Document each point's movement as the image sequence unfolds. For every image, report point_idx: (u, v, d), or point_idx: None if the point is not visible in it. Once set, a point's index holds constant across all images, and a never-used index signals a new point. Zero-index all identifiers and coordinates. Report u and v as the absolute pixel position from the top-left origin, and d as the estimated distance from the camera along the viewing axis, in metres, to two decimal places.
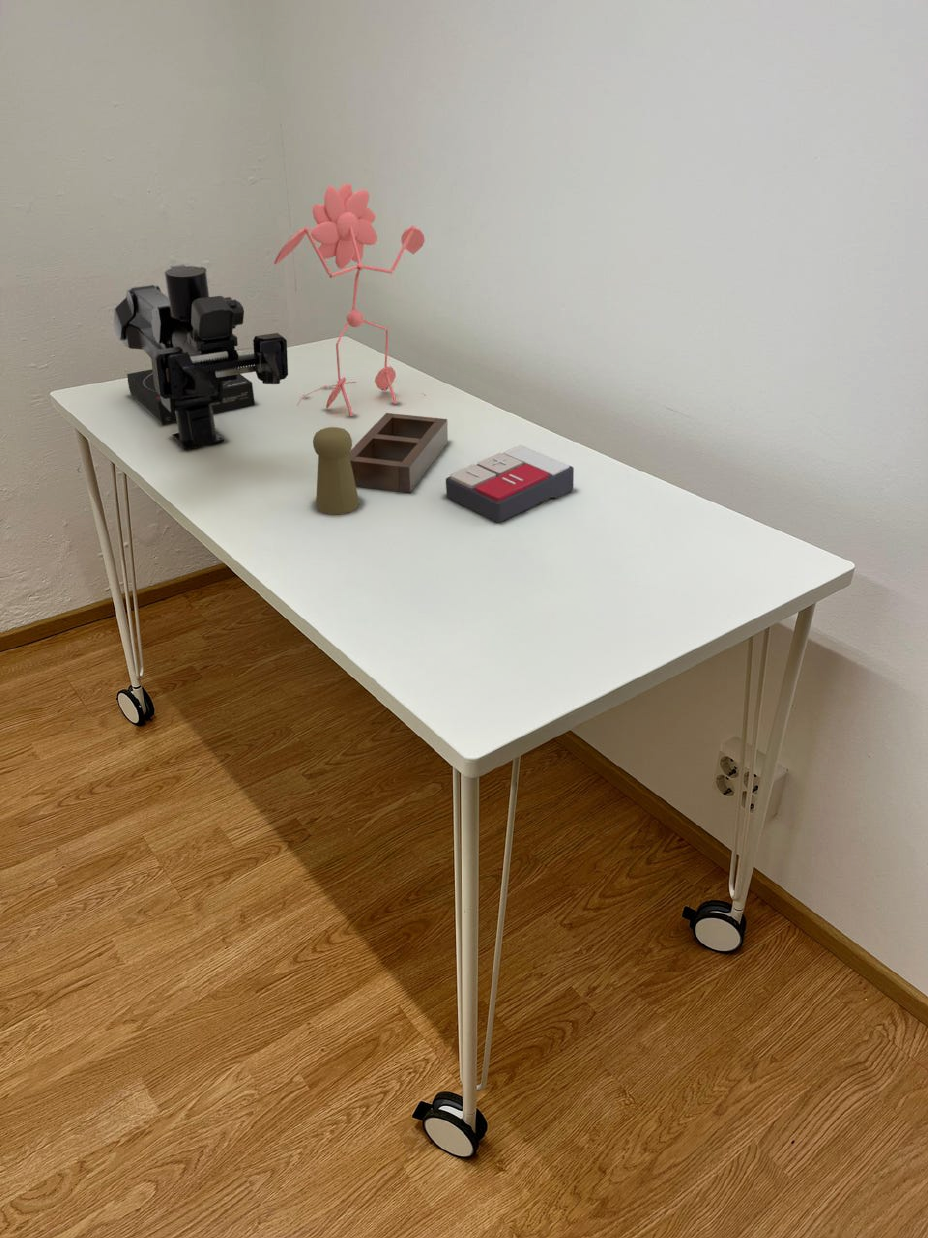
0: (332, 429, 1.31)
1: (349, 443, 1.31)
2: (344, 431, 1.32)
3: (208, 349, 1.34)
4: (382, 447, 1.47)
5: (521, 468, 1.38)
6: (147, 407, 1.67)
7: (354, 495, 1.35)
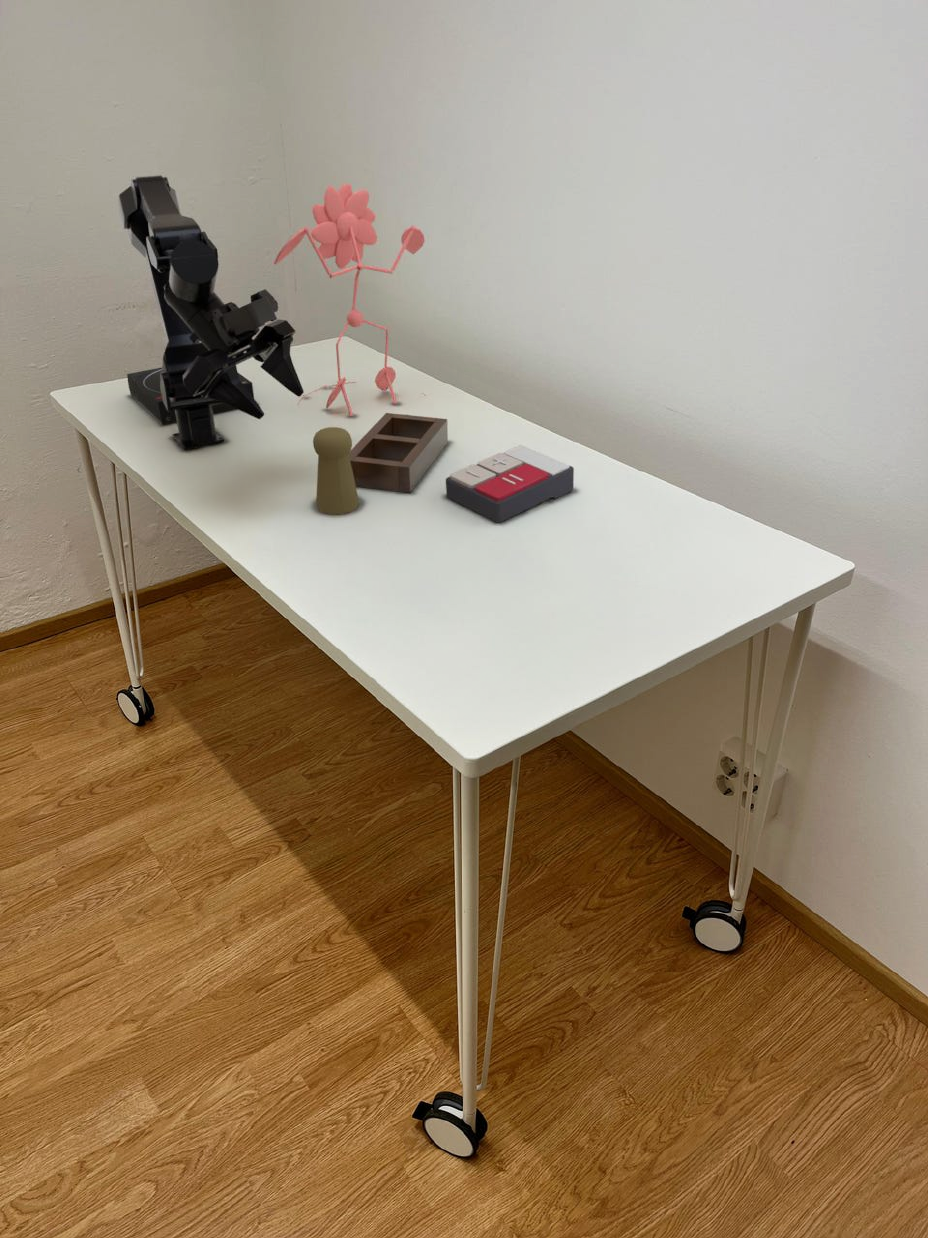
0: (332, 429, 1.31)
1: (349, 443, 1.31)
2: (344, 431, 1.32)
3: (236, 343, 1.29)
4: (382, 447, 1.47)
5: (521, 468, 1.38)
6: (147, 407, 1.67)
7: (354, 495, 1.35)
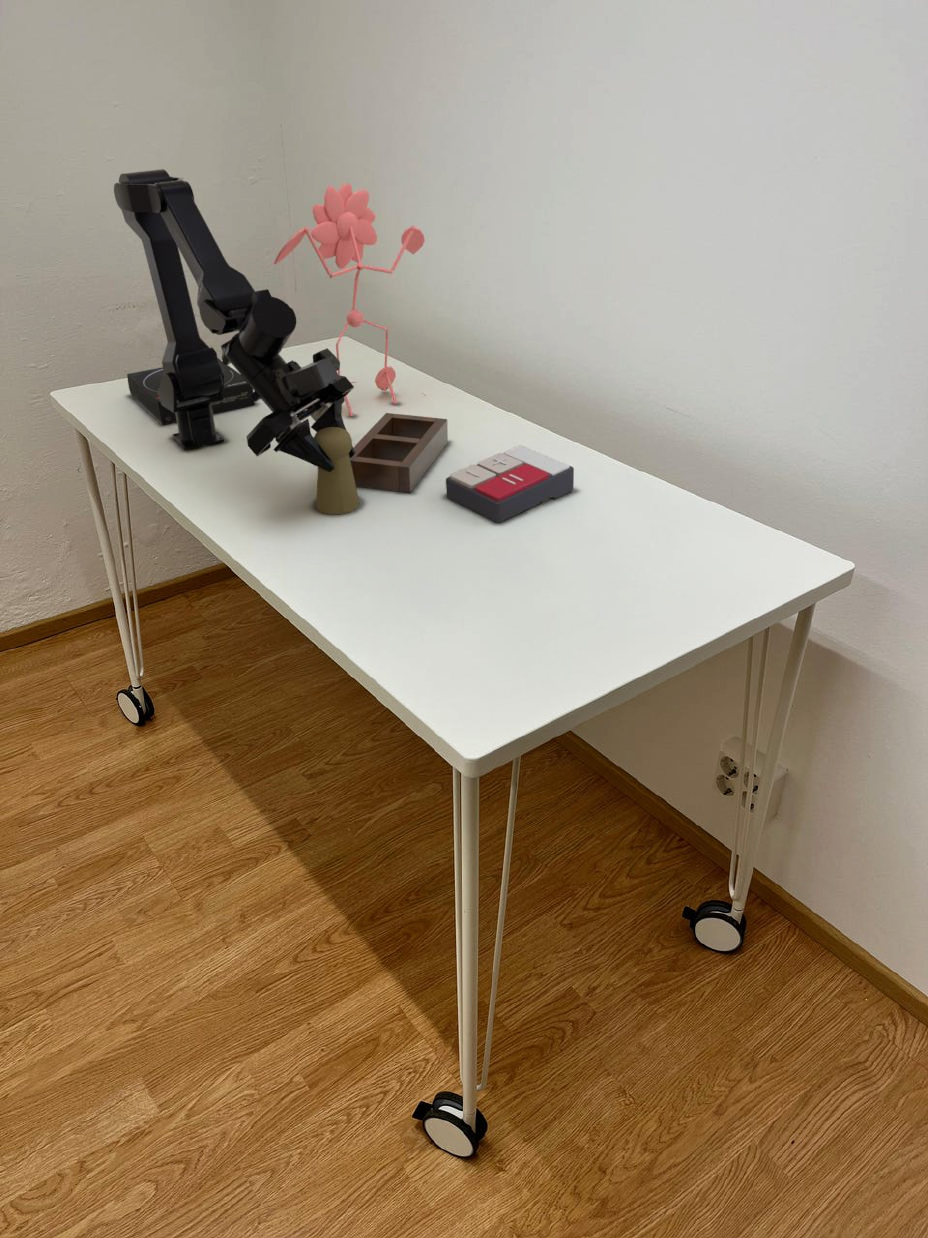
0: (332, 429, 1.31)
1: (349, 443, 1.31)
2: (344, 431, 1.32)
3: (298, 402, 1.30)
4: (382, 447, 1.47)
5: (521, 468, 1.38)
6: (147, 407, 1.67)
7: (354, 495, 1.35)
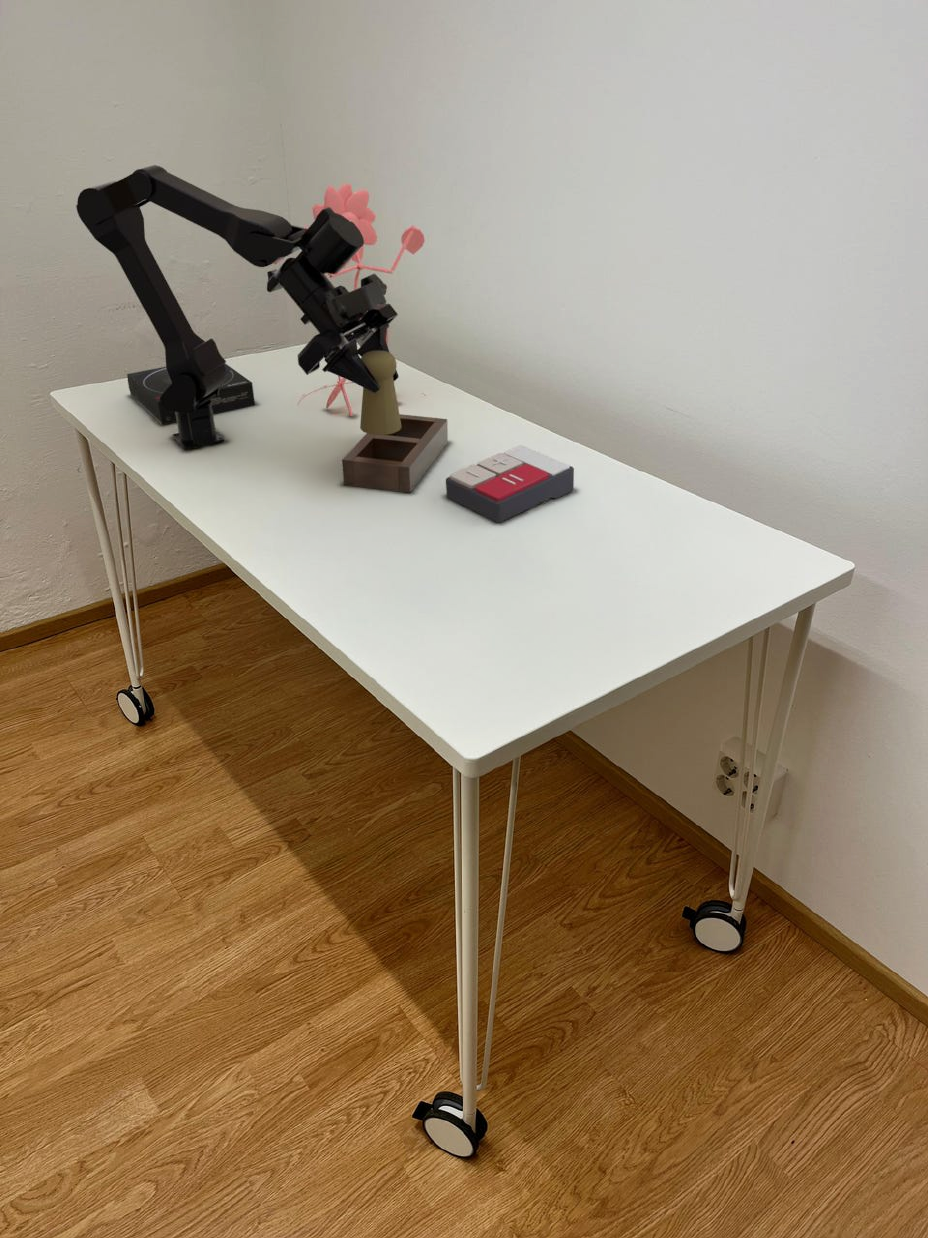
0: (378, 352, 1.38)
1: (394, 365, 1.37)
2: (389, 354, 1.38)
3: (346, 325, 1.36)
4: (382, 447, 1.47)
5: (521, 468, 1.38)
6: (147, 407, 1.66)
7: (397, 417, 1.41)
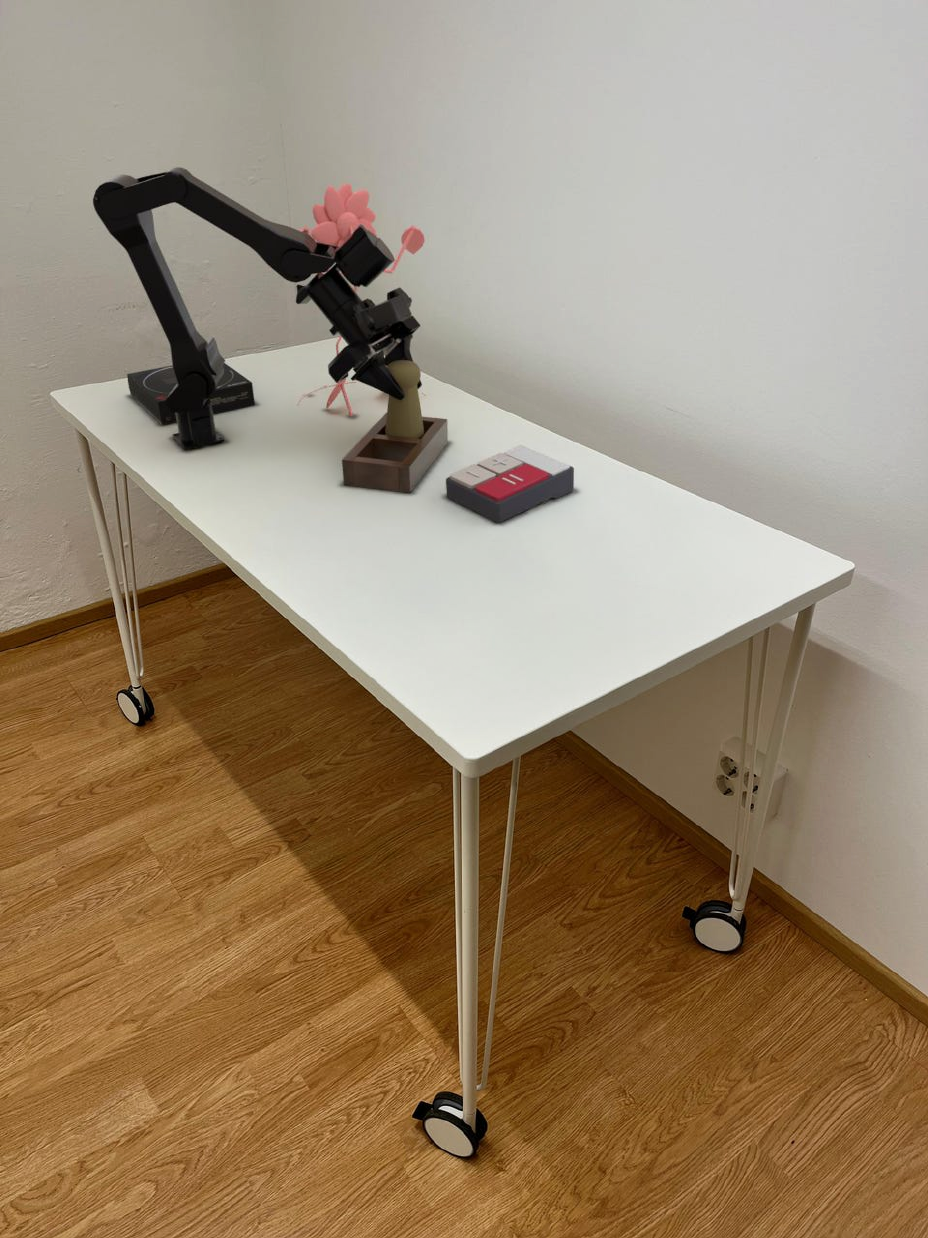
0: (403, 361, 1.45)
1: (418, 374, 1.45)
2: (414, 363, 1.45)
3: (373, 336, 1.43)
4: (382, 447, 1.47)
5: (521, 468, 1.38)
6: (147, 407, 1.67)
7: (420, 423, 1.49)
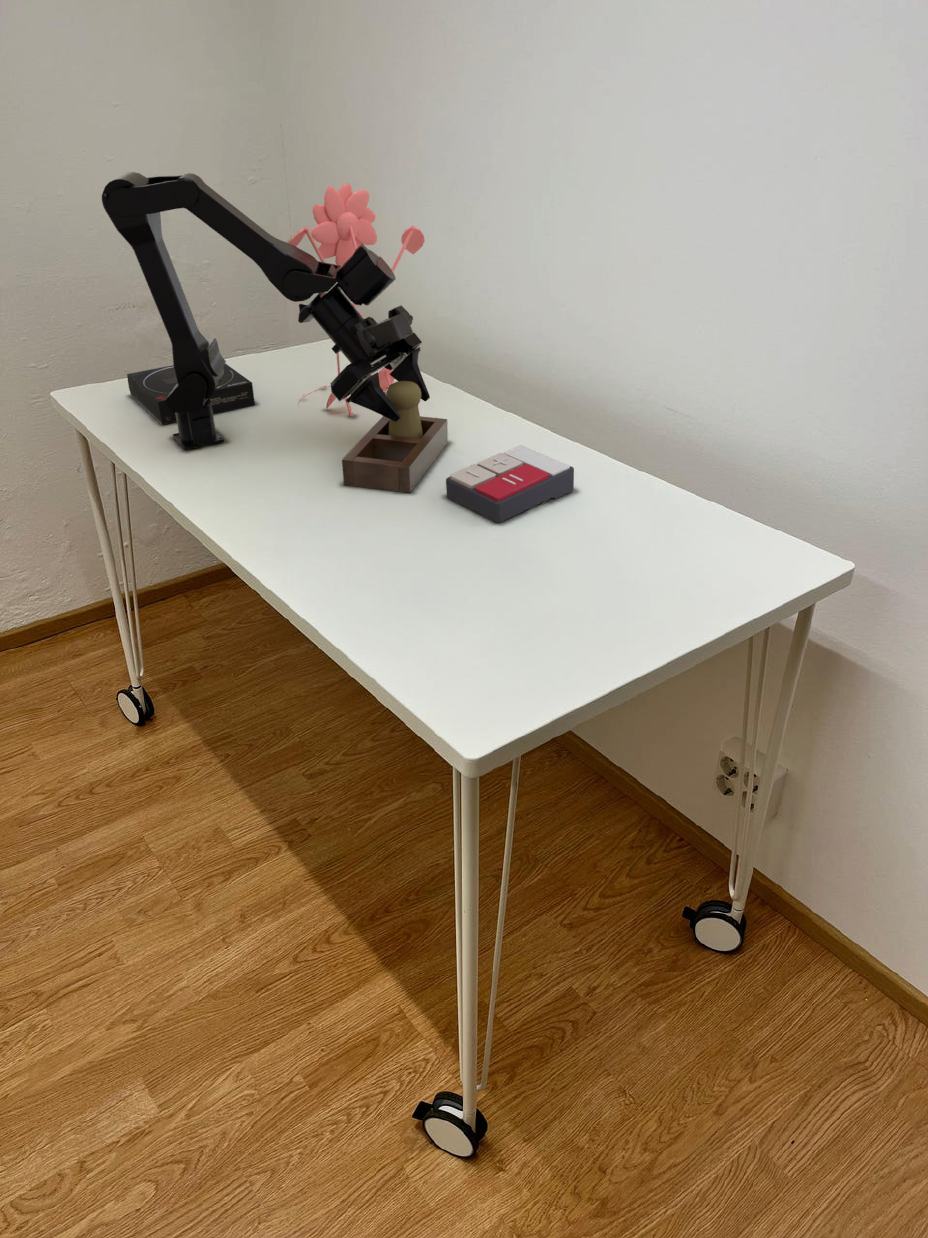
0: (404, 382, 1.47)
1: (419, 395, 1.46)
2: (415, 384, 1.47)
3: (375, 354, 1.44)
4: (382, 447, 1.47)
5: (521, 468, 1.38)
6: (147, 407, 1.66)
7: None
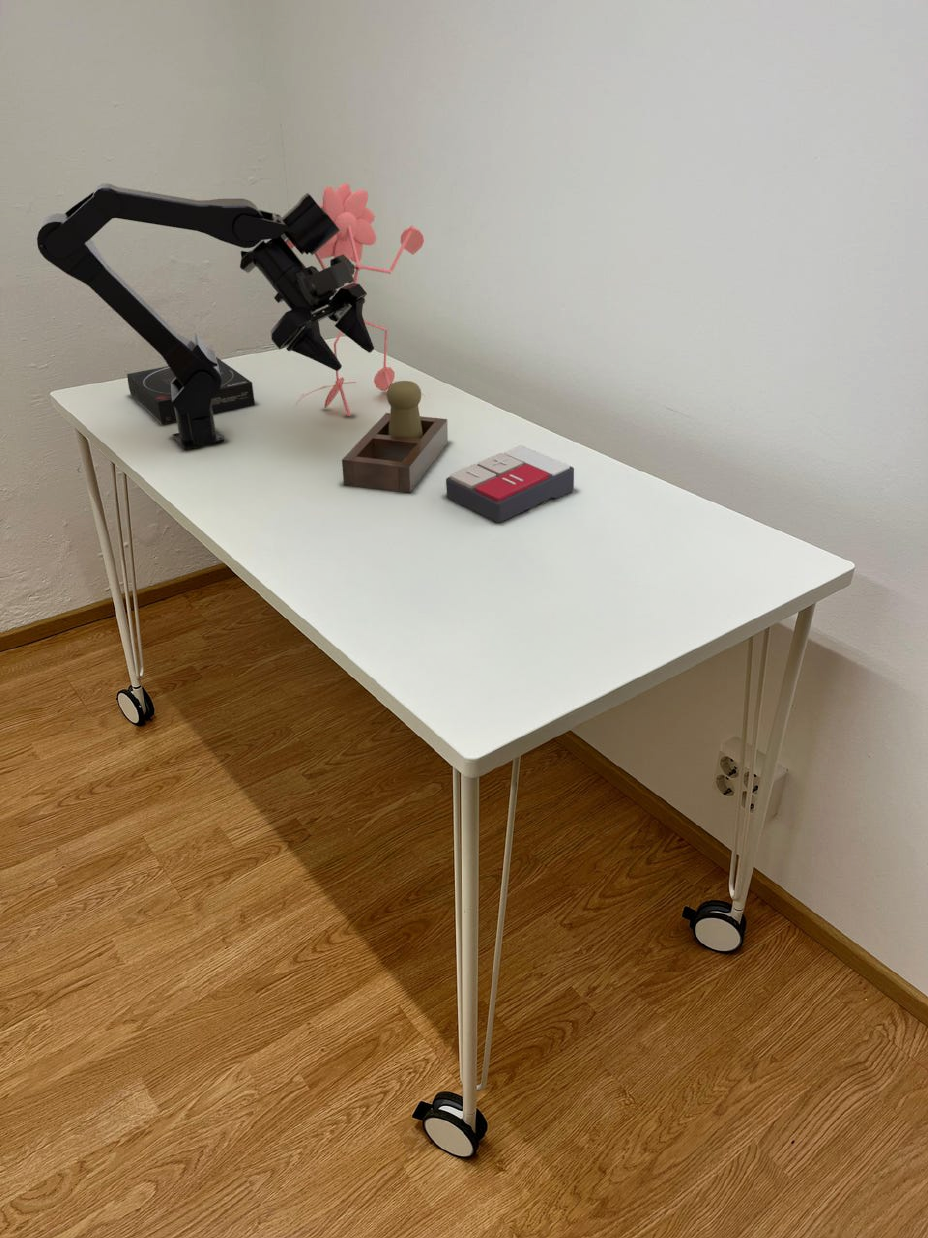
0: (404, 382, 1.47)
1: (419, 395, 1.46)
2: (415, 384, 1.47)
3: (317, 303, 1.44)
4: (382, 447, 1.47)
5: (521, 468, 1.37)
6: (147, 407, 1.66)
7: None
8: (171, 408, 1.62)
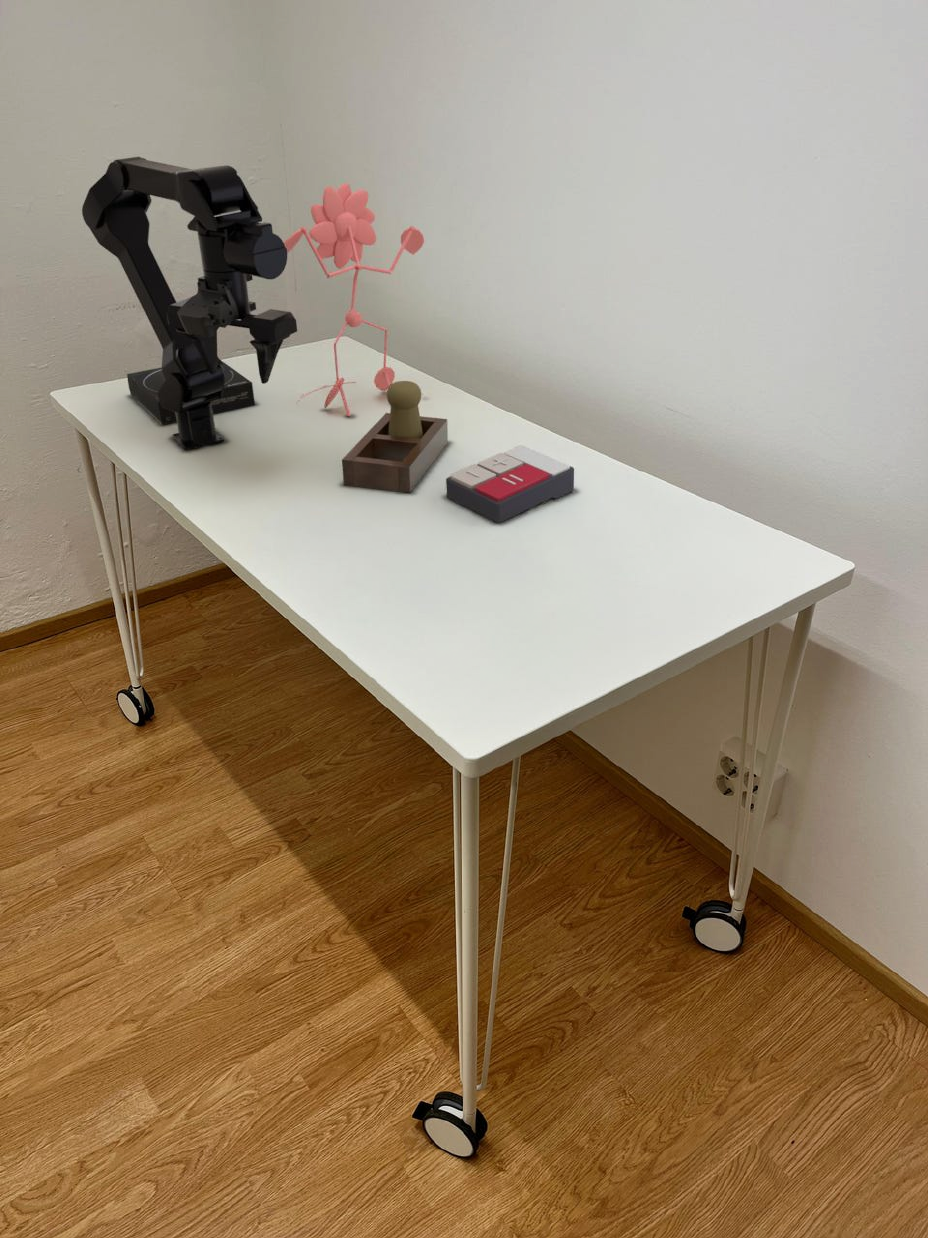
0: (404, 382, 1.47)
1: (419, 395, 1.46)
2: (415, 384, 1.47)
3: None
4: (382, 447, 1.47)
5: (521, 468, 1.37)
6: (147, 407, 1.67)
7: None
8: None
